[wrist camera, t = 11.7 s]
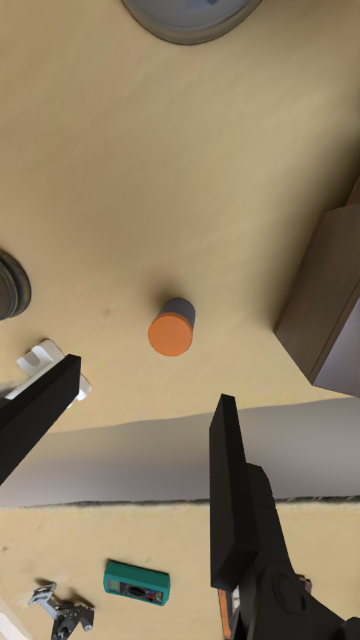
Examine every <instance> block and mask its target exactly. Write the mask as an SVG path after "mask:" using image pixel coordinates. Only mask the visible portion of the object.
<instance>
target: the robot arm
mask: <svg viewBox="0 0 360 640" xmlns="http://www.w3.org/2000/svg"><path fill="white" fill-rule="evenodd" d="M123 2H124V3H125V5H126V7H127V8H128V10H129V11H130V12H131V13H132V15H133V16H134V17H135V18H136V19H137V20H138V22H139V23H140V24H141V25H143V26H144V27H145V28H146V29H147V30H149V31H150V32H151V33H153V34H154V35H156V36H158V37H160V38H162V39H164V40H167V41H170V42H174V43H179V44H198V43H203V42H207V41H210V40H213V39H215V38H217V37H220V36H222V35H224V34H225V33H227V32H229V31H230V30H232V29H233V28H234V27H236V26H237V25H238V24H240V23H241V22H242V21H243V20H244V19H245V18H246V17H247V16H248V15H249V14H250V13H251V12H252V11H253V10H254V9H255V8H256V7H257V6H258V4H259V3H260V2H261V0H123ZM80 370H81V357H79V356H76V355H72V354H68V355H67V356H66V357H64V358H63V359H62V360H61V361H59V362H58V363H57V364H56V365H54V366H53V367H52V368H51V369H49V370H48V371H47V372H46V373H44V374H43V375H42V376H41V377H39V378H38V379H37V380H36V381H34V382H33V383H32V384H31V385H29V386H28V387H27V388H26V389H24V390H23V391H22V392H21V393H19V394H18V395H17V396H16V397H14V398H13V399H12V400H11V399H8V398H4V397H3V398H1V399H0V486H1V484H2V483H3V482H4V481H5V480H6V479H7V477H8V476H9V475H10V474H11V473H12V472H13V470H14V469H15V468H16V467H17V466H18V465H19V463H20V462H21V461H22V460H23V459H24V458H25V456H26V455H27V454H28V453H29V452H30V450H31V449H32V448H33V447H34V446H35V445H36V443H37V442H38V441H39V440H40V439H41V438H42V436H43V435H44V434H45V433H46V432H47V431H48V429H49V428H50V427H51V426H52V425H53V424H54V422H55V421H56V420H57V419H58V418H59V417H60V415H61V414H62V413H63V412H64V411H65V410H66V408H67V407H68V406H69V405H70V404H71V402H72V401H73V400H74V399H75V398H76V397H77V395H78V394H79V387H80ZM209 443H210V444H209V451H210V569H211V587H213V588H217V589H220V590H223V591H227V592H230V593H233V592H234V591H235V589H236V588H237V586H238V590H239V602H240V604H239V606H238V607H237V608H236V610H235V611H234V613H233V614H232V617H231V619H230V621H229V622H230V623H231V624H232V625H233V629H232V633H231V638H230V640H360V618H358V617H352V618H350V619H348V620H347V621H345V620H343V619H342V618H340V617H339V616H338V615H336V614H335V613H334V612H332V611H331V610H330V609H328V608H327V607H325V606H324V605H323V604H321V603H320V602H319V601H317V600H316V599H315V598H314V597H313V596H312V595H310V593H309V592H308V591H307V590H306V589H305V587H304V585H303V583H302V582H301V580H300V579H299V577H298V575H297V574H296V573H295V572H294V570H293V568H292V565H291V562H290V559H289V556H288V552H287V548H286V544H285V540H284V536H283V532H282V529H281V525H280V521H279V517H278V513H277V509H276V508H275V507H276V505H275V502H274V498H273V497H272V490H271V486H270V482H269V479H268V478H267V476H266V474H265V472H264V471H263V469H262V467H261V466H257V465H253V464H250V463H246V459H245V454H244V448H243V443H242V436H241V431H240V425H239V419H238V414H237V408H236V402H235V397H233V396H229V395H226V394H221V397H220V400H219V402H218V405H217V408H216V411H215V414H214V416H213V420H212V422H211V425H210V428H209Z"/></svg>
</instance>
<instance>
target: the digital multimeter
mask: <svg viewBox="0 0 360 640" xmlns="http://www.w3.org/2000/svg"><path fill="white" fill-rule="evenodd" d="M103 584H104V589H105V592H107V593H111V594H116V595H120V596H125V597H129V598H133V599H137V600H141V601H145V602H149V603H152V604H156V605H159V606H163V605H164V604H165V603H166V602H167V601H168V599H169V593H170V580H169V577H168V575H167V574H162V573H158V572H154V571H150V570H145V569H141V568H137V567H133V566H128V565H124V564H120V563H116V562H111V561H110V562H109V563H108V564H107V567H106V570H105V573H104V580H103Z"/></svg>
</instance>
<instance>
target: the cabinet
mask: <svg viewBox="0 0 360 640" xmlns="http://www.w3.org/2000/svg"><path fill="white" fill-rule="evenodd" d="M273 333H274V334H275V336H276V337H277V339H278V340H279V341H280V343H281V344H282V346H283V347H284V348H285V350H286V351H287V352H288V354H289V355H290V356H291V358H292V359H293V361H294V362H295V363H296V365H297V366H298V367H299V369H300V370H301V372H302V373H303V374H304V376H305V377H306V378H307V380H308V381H309V382H310V384H311V385H312V386H315V387H319V388H323V389H327V390H331V391H335V392H339V393H343V394H347V395H351V396H355V397H359V398H360V203H357V204H353V205H349V206H345V207H342V208H338V209H334V210H330V211H327V212H323V213H322V214H321V217H320V219H319V222H318V224H317V227H316V229H315V232H314V234H313V236H312V239H311V241H310V244H309V246H308V249H307V251H306V253H305V256H304V258H303V261H302V263H301V266H300V268H299V271H298V273H297V275H296V278H295V280H294V283H293V285H292V288H291V290H290V293H289V295H288V297H287V300H286V302H285V305H284V307H283V310H282V312H281V314H280V317H279V319H278V322H277V324H276V327H275V329H274V332H273Z"/></svg>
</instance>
